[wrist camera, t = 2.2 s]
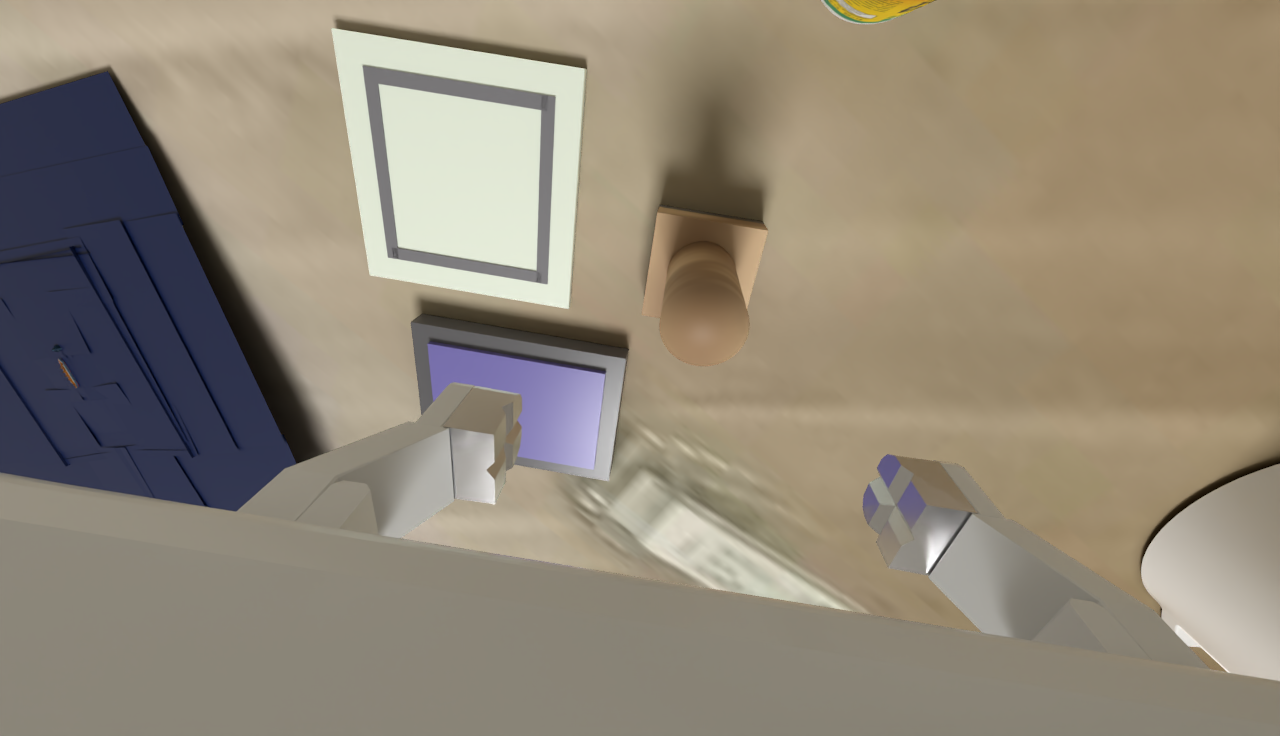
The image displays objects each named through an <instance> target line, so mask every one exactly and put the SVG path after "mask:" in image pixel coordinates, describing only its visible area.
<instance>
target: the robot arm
mask: <svg viewBox="0 0 1280 736" xmlns="http://www.w3.org/2000/svg"><path fill="white" fill-rule="evenodd" d="M521 412H522V397H521V395H520V394H518V393H513V392H507V391H502V390H496V389H491V388H486V387H480V386H474V385H469V384H462V383H456V382H454V383H450V384H449V385H448V386H447V387H446V388H445V389H444V390H443V392H442V393H441V394H440V395H439V396H438V397H437V398H436V400H435V401H434V402H433V403H432V404H431V405H430V406H429V408H428V409H427V410H426V411H425V412H424V413H423V415H422V416H421V417H420V418H419V419H418V420H417V421H416V423H414V422H406V423H404V424H401V425H398V426H396V427H393V428H390V429H388V430H385V431H382V432H380V433H377V434H375V435H372V436H369V437H367V438H364V439H361V440H359V441H356V442H353V443H351V444H348V445H346V446H343V447H340V448H338V449H335V450H332V451H330V452H327V453H325V454H322V455H319V456H317V457H314V458H311V459H309V460H306V461H303V462H301V463H298V464H296V465H293V466H290V467H288V468H285V469H284V470H283V471H282V472H280V473H279V474H278V475H277V476H276V477H275V478H274V479H273V480H271V481H270V482H269V483H268V484H267V485H266V486H265V487H263V488H262V489H261V490H260V491H259V492H258V493H257V494H256V495H254V496H253V497H252V498H251V499H250V500H249V501H248V502H247V503H245V504H244V505H243V506H242V507H241V508H240V509H239V510H238V511H236V512H235V511H229V510H223V509H217V508H210V507H204V506H198V505H192V504H186V503H180V502H174V501H168V500H161V499H155V498H149V497H143V496H137V495H131V494H125V493H118V492H112V491H106V490H100V489H94V488H88V487H82V486H75V485H69V484H63V483H57V482H51V481H46V480H40V479H35V478H29V477H23V476H18V475H12V474H6V473H0V736H1280V464H1277V465H1274V466H1271V467H1268V468H1265V469H1262V470H1259V471H1256V472H1254V473H1251V474H1248V475H1246V476H1243V477H1241V478H1239V479H1236V480H1234V481H1232V482H1230V483H1228V484H1226V485H1224V486H1222V487H1220V488H1218V489H1216V490H1214V491H1212V492H1210V493H1209V494H1207V495H1205V496H1203V497H1202V498H1200V499H1199V500H1197V501H1195V502H1194V503H1192V504H1191V505H1190V506H1188V507H1187V508H1185V509H1184V510H1183V511H1181V512H1180V513H1179V514H1178V515H1176V516H1175V517H1174V518H1173V519H1172V520H1171V521H1169V522H1168V523H1167V524H1166V525H1165V526H1164V527H1163V528H1162V529H1161V531H1160V532H1159V533H1158V534H1157V535H1156V536H1155V538H1154V539H1153V541H1152V542H1151V543H1150V545H1149V547H1148V549H1147V551H1146V553H1145V555H1144V558H1143V561H1142V566H1141V576H1142V581H1143V584H1144V586H1145V588H1146V590H1147V591H1148V592H1149V594H1150V595H1151V596H1152V597H1153V598H1154V599H1155V600H1156V601H1157V602H1158V603H1159V604H1160V606H1161V608H1162V617H1160V616H1159V615H1158V614H1157V613H1156V612H1155V611H1154V610H1152V609H1151V608H1149V607H1148V606H1146V605H1145V604H1143V603H1141V602H1140V601H1138V600H1137V599H1135V598H1134V597H1132V596H1131V595H1129V594H1127V593H1126V592H1124V591H1123V590H1121V589H1120V588H1118V587H1117V586H1115V585H1113V584H1112V583H1110V582H1109V581H1107V580H1106V579H1104V578H1103V577H1101V576H1099V575H1098V574H1096V573H1095V572H1093V571H1092V570H1090V569H1089V568H1087V567H1085V566H1084V565H1082V564H1081V563H1079V562H1078V561H1076V560H1075V559H1073V558H1071V557H1070V556H1068V555H1067V554H1065V553H1064V552H1062V551H1060V550H1059V549H1057V548H1056V547H1054V546H1053V545H1051V544H1050V543H1048V542H1046V541H1045V540H1043V539H1042V538H1040V537H1039V536H1037V535H1036V534H1034V533H1032V532H1031V531H1029V530H1028V529H1026V528H1025V527H1023V526H1022V525H1020V524H1018V523H1017V522H1015V521H1014V520H1010V519H1005V517H1004V516H1003V515H1002V514H1001V513H1000V511H999V510H998V509H997V508H996V506H995V505H994V504H993V503H992V502H991V500H990V499H989V498H988V497H987V495H986V494H985V493H984V492H983V490H982V489H981V488H980V487H979V486H978V484H977V483H976V482H975V481H974V479H973V478H972V477H971V476H970V474H969V473H968V472H967V471H966V470H965V468H964V467H962V466H960V465H958V464H956V463H948V462H941V461H930V460H923V459H916V458H909V457H903V456H896V455H889V454H887V455H886V456H885V457H884V458H883V459H881V461H880V463H879V465H878V467H877V470H878V473H879V476H880V477H879V478H877V479H875V480H874V481H872V482H870V483H869V485H868V487H867V489H866V491H865V493H864V498H863V511H864V516H865V519H866V521H867V523H868V525H869V526H870V527H871V528H872V529H873V530H874V531H876V532H877V533H878V534H879V536H878V539H877V541H876V543H877V545H878V547H879V549H880V552H881V554H882V556H883V558H884V560H885V562H886V564H887V567H888V568H891V569H896V570H902V571H907V572H912V573H918V574H923V575H928V576H929V577H928V578H929V579H930V580H931V581H932V582H933V583H934V584H935V585H936V586H937V587H938V588H939V589H940V590H941V591H942V592H943V593H944V594H945V595H946V596H947V597H948V598H949V599H950V600H951V601H952V602H953V603H954V604H955V605H956V606H957V607H958V608H959V609H960V610H961V611H962V612H963V613H964V614H965V615H966V616H967V617H968V618H969V619H970V620H971V621H972V622H973V624H974V625H975V626H976V627H977V628H978V629H979V630H980V631H981V632H982V633H980V632H974V631H968V630H962V629H955V628H949V627H943V626H937V625H931V624H925V623H919V622H913V621H907V620H901V619H894V618H888V617H882V616H876V615H870V614H864V613H858V612H852V611H846V610H840V609H833V608H827V607H821V606H815V605H809V604H803V603H797V602H791V601H784V600H778V599H772V598H766V597H759V596H753V595H747V594H741V593H735V592H728V591H722V590H716V589H710V588H704V587H697V586H691V585H685V584H679V583H672V582H666V581H660V580H654V579H648V578H641V577H635V576H629V575H623V574H617V573H610V572H604V571H598V570H592V569H586V568H580V567H573V566H567V565H561V564H555V563H549V562H543V561H537V560H530V559H524V558H518V557H512V556H506V555H500V554H493V553H487V552H481V551H475V550H469V549H463V548H456V547H450V546H444V545H438V544H432V543H426V542H419V541H413V540H407V539H401V538H402V537H403V536H404V535H406V534H407V533H409V532H410V531H412V530H413V529H415V528H416V527H417V526H419V525H420V524H422V523H423V522H425V521H426V520H427V519H429V518H430V517H432V516H433V515H435V514H436V513H437V512H439V511H440V510H442V509H443V508H445V507H446V506H447V505H449V504H450V503H452V502H453V501H454V499H461V500H469V501H476V502H483V503H491V504H495V503H496V501H497V499H498V497H499V495H500V493H501V490H502V488H503V486H504V484H505V482H506V471H507V470H509V469H511V468H512V467H513V465H514V463H515V461H516V459H517V455H518V452H519V448H520V444H521V436H522V426H521V425H520V423H519V422H518V421H517V419H518V418H519V416H520V414H521ZM1188 646H1190V647H1201V648H1202V649H1203V650H1204V651H1205V652H1206V653H1208V654H1209V655H1210V656H1211V657H1212V658H1213V659H1214V660H1215V661H1216V662H1217V663H1218V664H1219V665H1220V666H1221V667H1223V668H1224V669H1225V670H1226V671H1227V672H1222V671H1216V670H1210V669H1209V668H1208V667H1207V666H1206V665H1205V664H1204V662H1203V661H1202V660H1201V659H1200V658H1199V657H1198V656H1197V655H1196V654H1195V653H1194V652H1193V651H1192V650H1191V649H1190V648H1189V647H1188Z"/></svg>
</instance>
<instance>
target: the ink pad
mask: <svg viewBox="0 0 1280 736" xmlns="http://www.w3.org/2000/svg"><path fill="white" fill-rule="evenodd" d="M411 328H412V337H413V345H414V354H415V363H416V371H417V380H418V389H419V397H420V406H421V414H422V415H423V413H424V412H425V411H426V410H427V409H428V408H429V406H430V405H431V404H432V403H433V402H434V401H435V400H436V398H437V397H438V396H439V395H440V394H441V393H442V392H443V390H444V389H445V388H446V387H447V386H448V385H449V384H450V383H454V382H456V383H462V384H469V385H474V386H480V387H486V388H491V389H496V390H502V391H507V392H513V393H518V394H520V395H521V397H522V412H521V414H520V416H519V418H518V419H517V421H518V422H519V423H520V425H521V426H522V436H521V444H520V448H519V452H518V455H517V459H516V461H515V463H514V465H520V466H526V467H531V468H537V469H543V470H548V471H554V472H560V473H565V474H571V475H577V476H582V477H588V478H594V479H599V480H605V481H609V477H610V473H611V468H612V461H613V454H614V447H615V441H616V434H617V427H618V420H619V413H620V406H621V399H622V392H623V385H624V378H625V371H626V364H627V357H628V350H629V349H625V348H619V347H613V346H607V345H602V344H596V343H590V342H584V341H578V340H572V339H566V338H561V337H555V336H549V335H543V334H537V333H531V332H525V331H520V330H514V329H508V328H502V327H496V326H490V325H484V324H479V323H473V322H467V321H461V320H455V319H449V318H444V317H438V316H432V315H426V314H421V315H420V316H418V317H417V318H416V319H414V320H413V321H412V322H411Z"/></svg>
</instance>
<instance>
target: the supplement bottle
mask: <svg viewBox="0 0 1280 736" xmlns="http://www.w3.org/2000/svg"><path fill="white" fill-rule="evenodd" d="M821 1H822V2H823V4H824V5H825V6H826V7H827V9H828V10H829V11H830V12H832V13H833V14H834V15H835V16H837V17H838V18H840V19H842V20H845V21H847V22H851V23H856V24H876V23H882V22H886V21H889V20H892V19H895V18H897V17H900V16H902V15H904V14H907V13H909V12H911V11H913V10H915V9H917V8H920V7H922V6H924V5H926V4H928V3H931V2H933V1H935V0H821Z"/></svg>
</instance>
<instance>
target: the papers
mask: <svg viewBox="0 0 1280 736" xmlns="http://www.w3.org/2000/svg"><path fill="white" fill-rule="evenodd" d="M182 225H183V222H182V220H181V218H180V216H179V214H178V211H177V209H176V207H175V205H174V203H173V200H172V198H171V196H170V194H169V192H168V190H167V187H166V185H165V183H164V181H163V179H162V176H161V174H160V172H159V170H158V168H157V165H156V163H155V161H154V159H153V157H152V155H151V152H150V150H149V148H148V146H146V145H145V143H144V141H143V139H142V137H141V135H140V134H139V132H138V130H137V128H136V126H135V124H134V122H133V120H132V118H131V116H130V114H129V112H128V110H127V108H126V106H125V104H124V102H123V100H122V98H121V96H120V94H119V92H118V90H117V88H116V86H115V84H114V82H113V81H112V79H111V77H110V75H109V73H108V71H107V72H104V73H100V74H97V75H94V76H90V77H87V78H84V79H81V80H77V81H74V82H71V83H68V84H64V85H61V86H58V87H54V88H51V89H48V90H45V91H41V92H38V93H35V94H32V95H28V96H25V97H22V98H18V99H15V100H12V101H9V102H5V103H2V104H0V473H6V474H12V475H18V476H23V477H29V478H35V479H40V480H46V481H51V482H57V483H63V484H69V485H75V486H82V487H88V488H94V489H100V490H106V491H112V492H118V493H125V494H131V495H137V496H143V497H149V498H155V499H161V500H168V501H174V502H180V503H186V504H192V505H198V506H204V507H210V508H217V509H223V510H229V511H235V512H236V511H238V510H239V509H240V508H241V507H242V506H243V505H244V504H245V503H247V502H248V501H249V500H250V499H251V498H252V497H253V496H254V495H256V494H257V493H258V492H259V491H260V490H261V489H262V488H263V487H265V486H266V485H267V484H268V483H269V482H270V481H271V480H273V479H274V478H275V477H276V476H277V475H278V474H279V473H280V472H282V471H283V470H284V469H285V468H288V467H290V466H293V465H296V461H295V459H294V457H293V455H292V452H291V450H290V448H289V446H288V443H287V441H286V439H285V437H284V434H281V433H280V431H279V429H278V427H277V424H276V422H275V420H274V418H273V416H272V414H271V412H270V410H269V408H268V406H267V403H266V401H265V399H264V397H263V395H262V393H261V391H260V389H259V387H258V384H257V382H256V380H255V378H254V376H253V374H252V372H251V370H250V368H249V366H248V363H247V361H246V359H245V357H244V355H243V353H242V351H241V349H240V347H239V344H238V342H237V340H236V338H235V336H234V334H233V332H232V330H231V328H230V326H229V323H228V321H227V319H226V317H225V315H224V313H223V311H222V309H221V307H220V304H219V302H218V300H217V298H216V296H215V294H214V292H213V290H212V288H211V286H210V283H209V281H208V279H207V277H206V275H205V273H204V271H203V269H202V267H201V264H200V262H199V260H198V258H197V256H196V254H195V252H194V250H193V248H192V246H191V243H190V241H189V239H188V237H187V235H186V233H185V231H184V229H183V227H182Z"/></svg>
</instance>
